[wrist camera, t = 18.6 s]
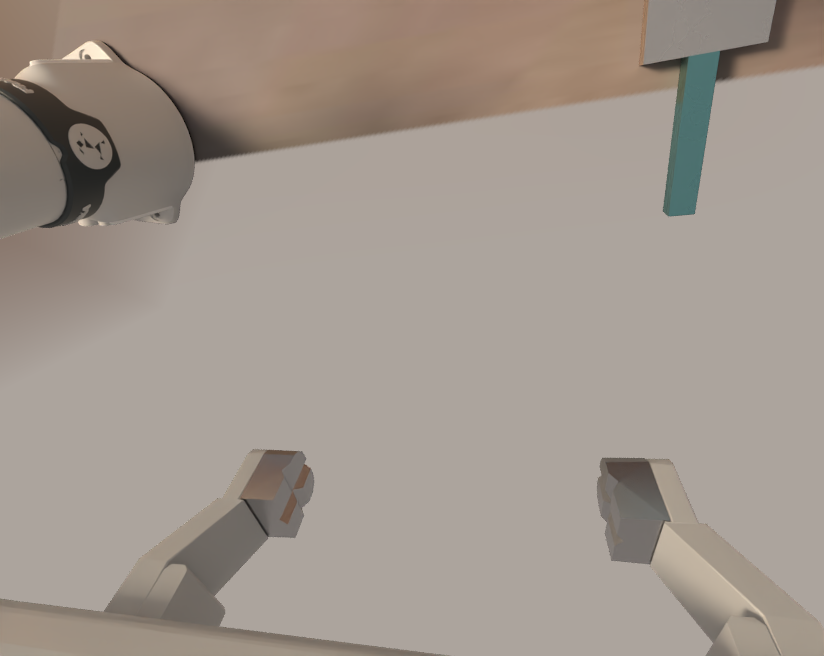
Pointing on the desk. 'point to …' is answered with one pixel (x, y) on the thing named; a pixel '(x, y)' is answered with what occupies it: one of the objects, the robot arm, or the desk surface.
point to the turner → (696, 74)
